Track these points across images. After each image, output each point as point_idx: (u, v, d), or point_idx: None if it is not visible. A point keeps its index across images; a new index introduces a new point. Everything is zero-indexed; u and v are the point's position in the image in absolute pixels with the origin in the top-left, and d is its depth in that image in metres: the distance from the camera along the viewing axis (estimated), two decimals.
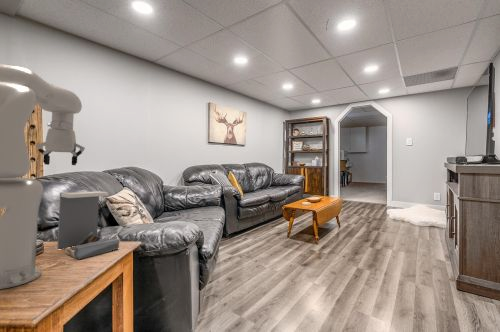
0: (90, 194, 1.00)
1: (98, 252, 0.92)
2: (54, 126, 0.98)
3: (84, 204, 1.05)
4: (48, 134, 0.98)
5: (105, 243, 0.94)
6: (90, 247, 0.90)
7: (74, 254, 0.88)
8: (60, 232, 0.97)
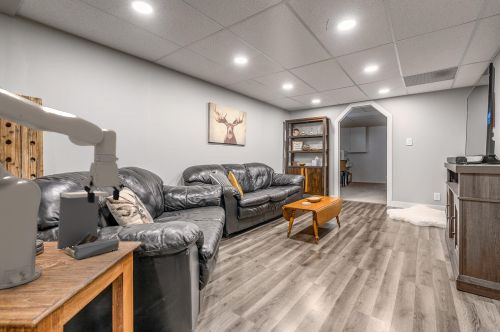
0: None
1: (98, 252, 0.92)
2: None
3: (84, 204, 1.05)
4: None
5: (105, 243, 0.94)
6: (90, 247, 0.90)
7: (74, 254, 0.88)
8: (60, 232, 0.97)
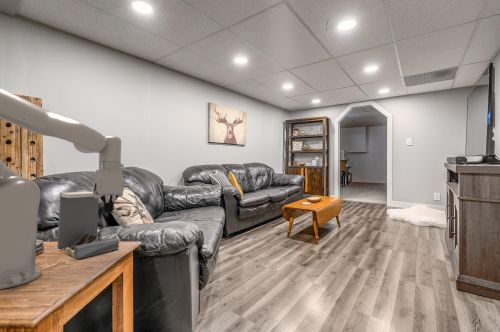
0: (90, 194, 1.00)
1: (98, 252, 0.92)
2: None
3: (84, 204, 1.05)
4: None
5: (105, 243, 0.94)
6: (90, 247, 0.90)
7: (74, 254, 0.88)
8: (60, 232, 0.97)
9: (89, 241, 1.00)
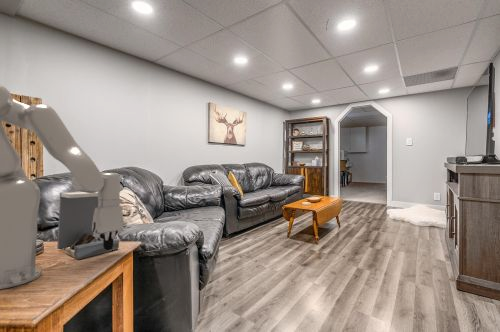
0: (90, 194, 1.00)
1: (98, 252, 0.92)
2: None
3: (84, 204, 1.05)
4: None
5: None
6: (90, 247, 0.90)
7: (74, 254, 0.88)
8: (60, 232, 0.97)
9: (88, 241, 1.00)
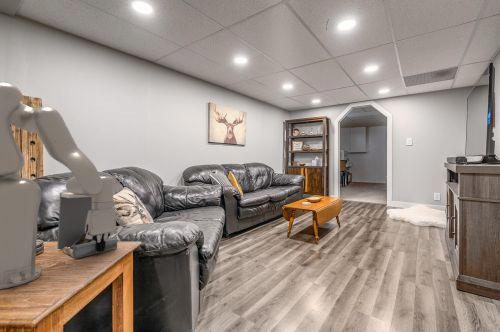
0: None
1: (96, 251, 0.93)
2: None
3: (84, 204, 1.05)
4: None
5: None
6: (88, 246, 0.90)
7: (73, 253, 0.89)
8: (60, 232, 0.97)
9: (88, 241, 1.00)
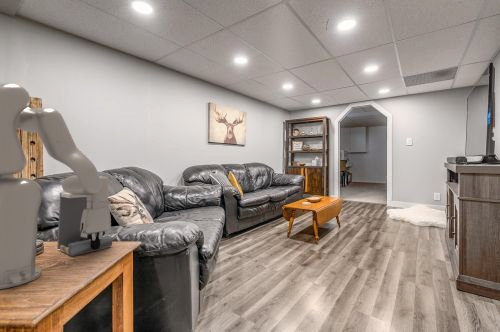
0: None
1: (91, 249, 0.95)
2: None
3: (84, 204, 1.05)
4: None
5: None
6: (84, 244, 0.93)
7: (68, 251, 0.91)
8: (60, 232, 0.97)
9: None
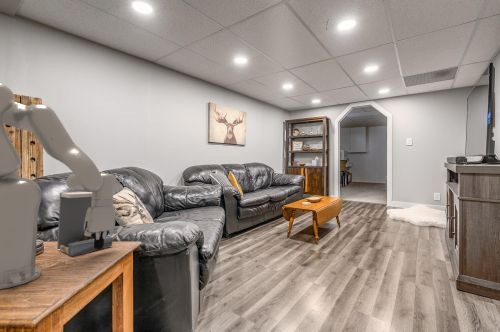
0: (90, 194, 1.00)
1: (91, 249, 0.95)
2: None
3: (84, 204, 1.05)
4: None
5: None
6: (84, 244, 0.93)
7: (68, 251, 0.91)
8: (60, 232, 0.97)
9: None
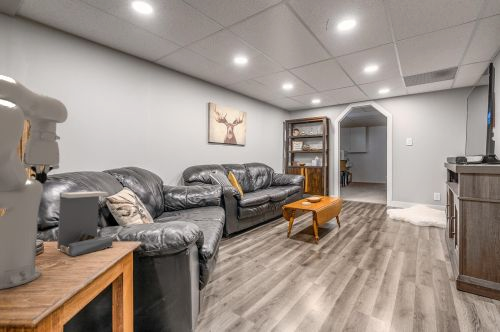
0: (90, 194, 1.00)
1: (92, 249, 0.95)
2: None
3: (84, 204, 1.05)
4: None
5: (99, 241, 0.97)
6: (84, 245, 0.93)
7: (68, 251, 0.91)
8: (60, 232, 0.97)
9: None
